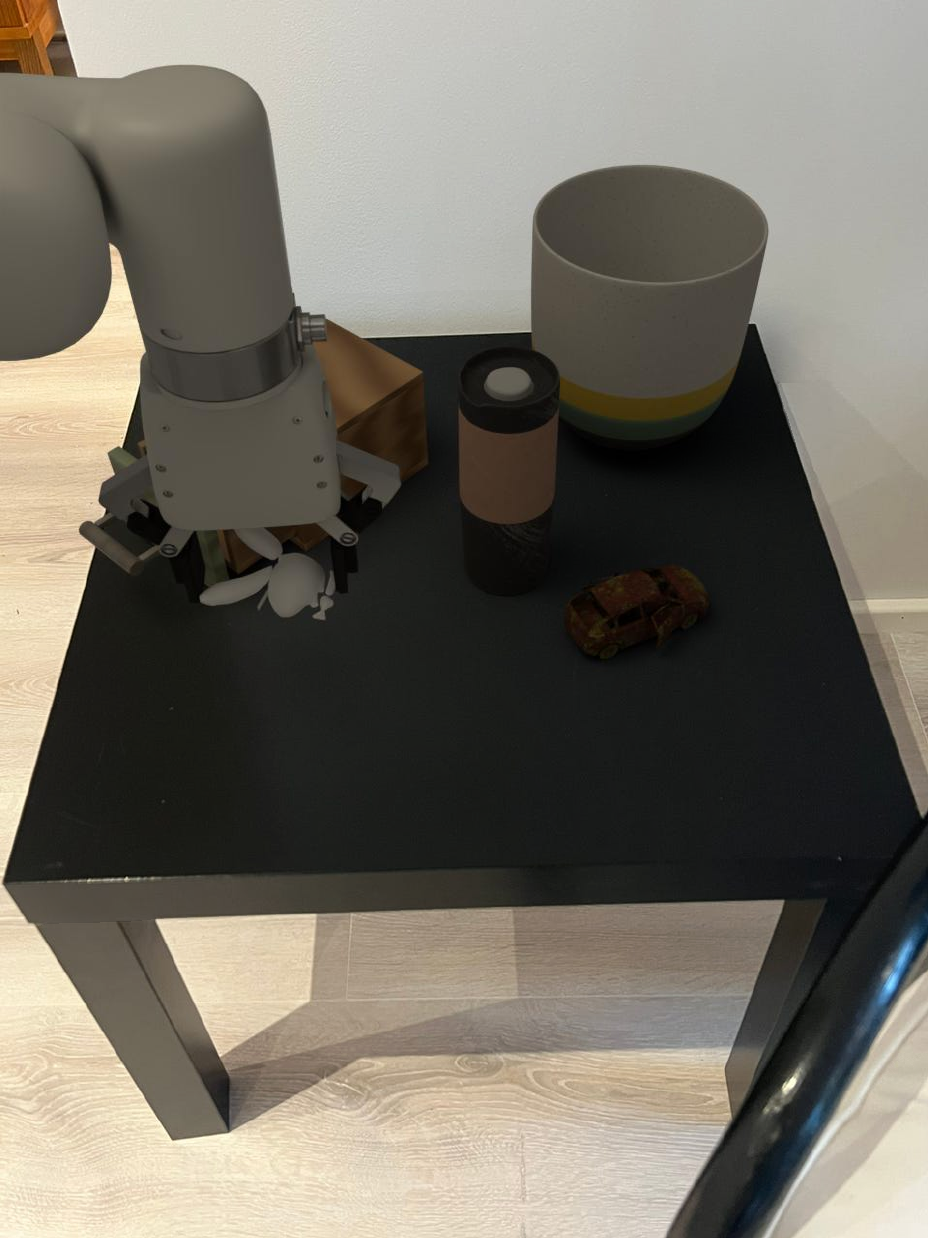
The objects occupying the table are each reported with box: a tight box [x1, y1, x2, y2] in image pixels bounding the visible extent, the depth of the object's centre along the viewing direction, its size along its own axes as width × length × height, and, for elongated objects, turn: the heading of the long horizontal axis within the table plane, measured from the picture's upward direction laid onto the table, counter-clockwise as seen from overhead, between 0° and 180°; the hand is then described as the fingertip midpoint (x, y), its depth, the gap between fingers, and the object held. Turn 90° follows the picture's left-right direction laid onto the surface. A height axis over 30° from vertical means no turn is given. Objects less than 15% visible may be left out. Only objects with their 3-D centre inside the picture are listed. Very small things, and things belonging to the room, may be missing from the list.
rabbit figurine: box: [199, 527, 336, 621], centre depth 67 cm, size 6×4×8 cm
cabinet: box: [288, 318, 429, 552], centre depth 99 cm, size 16×14×11 cm
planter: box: [530, 164, 769, 451], centre depth 99 cm, size 20×20×21 cm
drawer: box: [78, 438, 298, 588], centre depth 93 cm, size 20×12×9 cm, turn 137°
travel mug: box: [457, 345, 560, 597], centre depth 87 cm, size 8×8×20 cm
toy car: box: [563, 564, 710, 660], centre depth 88 cm, size 12×7×5 cm, turn 115°
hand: (270, 581), depth 67 cm, fingers closed on rabbit figurine, 8 cm apart
